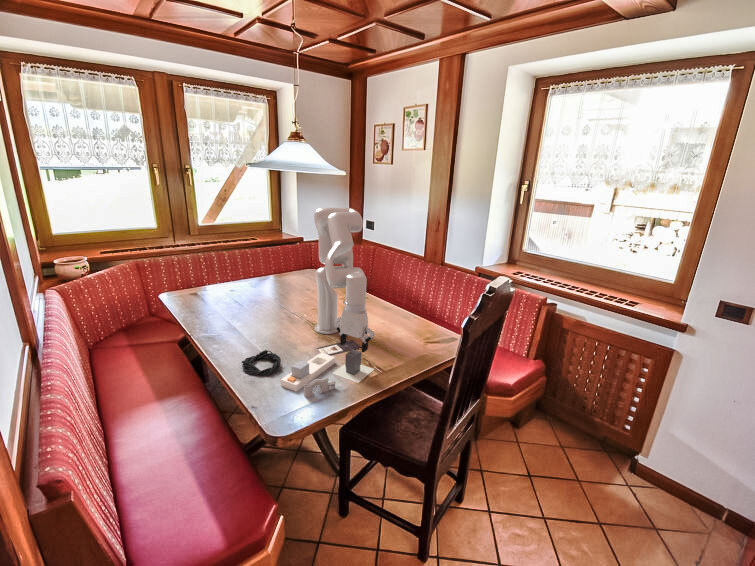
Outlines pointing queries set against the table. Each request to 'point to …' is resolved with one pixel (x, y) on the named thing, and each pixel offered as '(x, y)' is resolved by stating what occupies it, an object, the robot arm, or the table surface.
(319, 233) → the robot arm
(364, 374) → the mat
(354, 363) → the grey rectangular block
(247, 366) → the cable
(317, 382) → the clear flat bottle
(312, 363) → the long white plastic board
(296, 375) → the grey plug
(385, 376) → the table surface
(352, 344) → the chocolate bar
